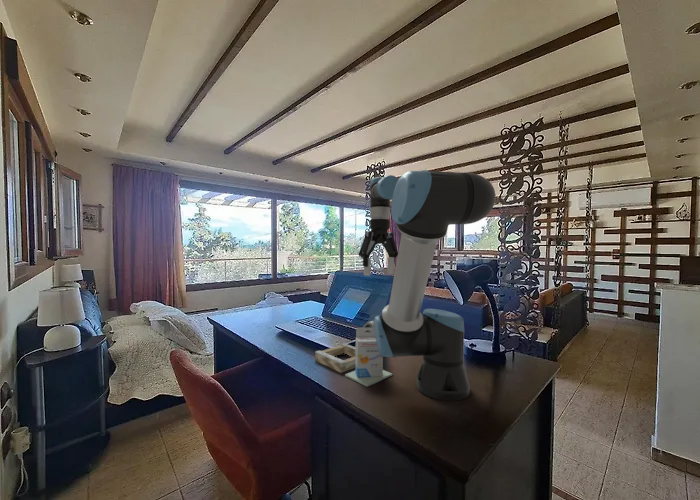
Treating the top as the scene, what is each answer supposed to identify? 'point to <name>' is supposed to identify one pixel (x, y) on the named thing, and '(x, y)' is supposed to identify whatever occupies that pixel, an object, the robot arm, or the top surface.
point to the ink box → (367, 354)
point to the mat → (367, 378)
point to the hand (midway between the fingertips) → (379, 274)
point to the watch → (369, 326)
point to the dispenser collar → (335, 363)
